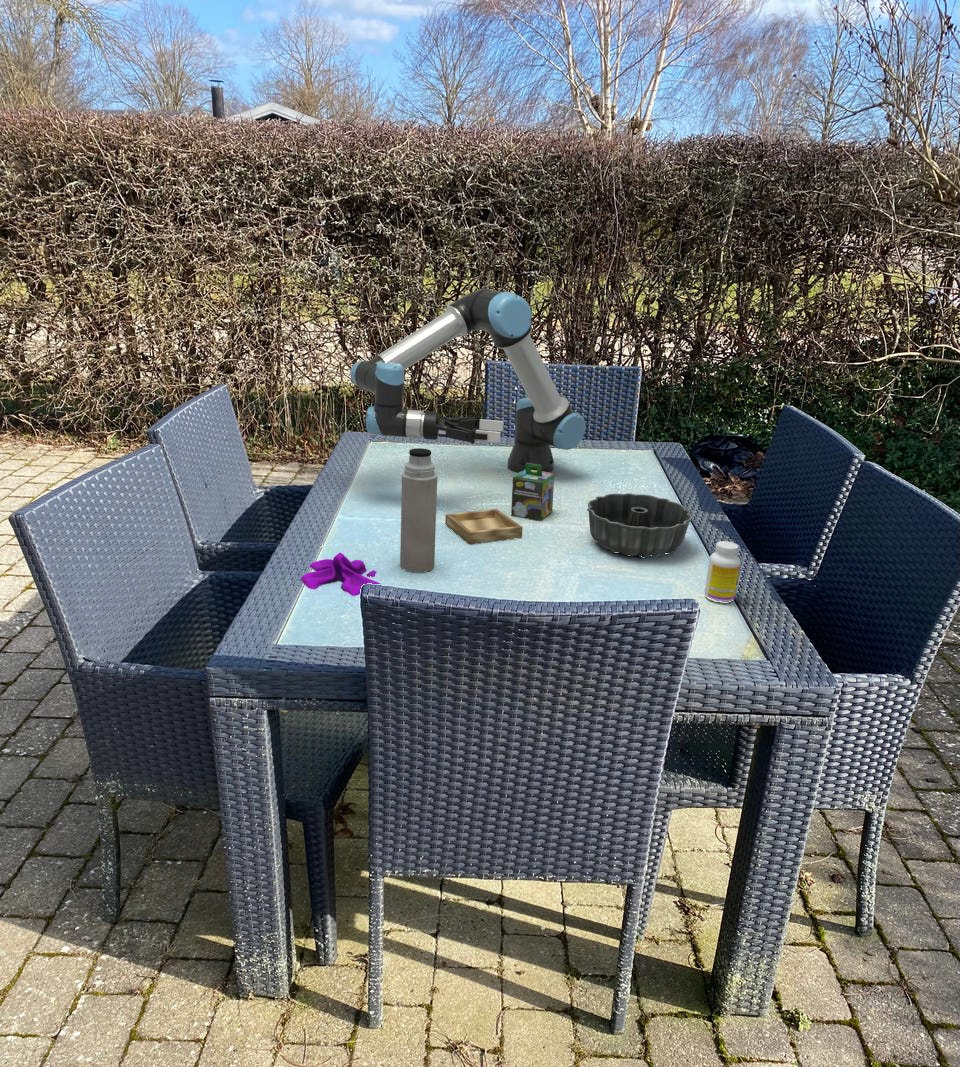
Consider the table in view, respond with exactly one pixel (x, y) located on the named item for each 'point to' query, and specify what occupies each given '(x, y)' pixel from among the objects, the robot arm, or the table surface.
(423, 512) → the thermos bottle
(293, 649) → the table surface
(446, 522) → the bamboo tray
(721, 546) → the supplement bottle
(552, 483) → the chalk box
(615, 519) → the bundt pan
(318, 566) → the cloth
